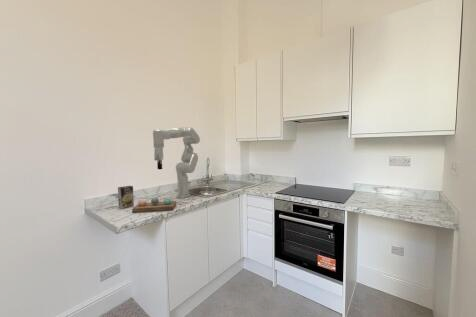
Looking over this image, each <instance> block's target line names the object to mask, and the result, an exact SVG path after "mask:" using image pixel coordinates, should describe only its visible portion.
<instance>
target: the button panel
mask: <svg viewBox="0 0 476 317" xmlns="http://www.w3.org/2000/svg"><path fill="white" fill-rule="evenodd" d="M176 202H177V201H176V200H175V201H173V200H171V204H169V205H164V201H162V202H161V201H160V202H159V203H157V204H151V202H146V205H145V206H139V203H137V204H136V205H134V206H133V208H132V209H131V212H132V214H140V213H141V214H142V213H143V214H144V213H154V212H169V211H172V212H173V211H174V209H175V208H176V206H177V203H176Z"/></svg>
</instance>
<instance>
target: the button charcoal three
mask: <svg viewBox="0 0 476 317" xmlns="http://www.w3.org/2000/svg"><path fill="white" fill-rule="evenodd" d="M150 203H151V204H157V203H159V198H158V197H156V198H151V199H150Z"/></svg>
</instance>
